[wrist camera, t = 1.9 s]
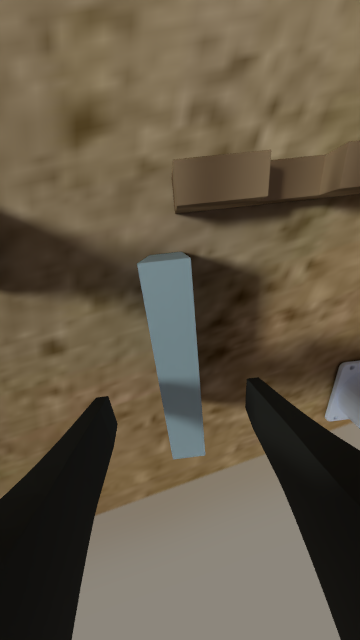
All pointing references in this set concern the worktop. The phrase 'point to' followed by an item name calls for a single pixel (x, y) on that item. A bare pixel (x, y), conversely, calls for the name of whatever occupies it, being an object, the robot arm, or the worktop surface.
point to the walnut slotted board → (263, 178)
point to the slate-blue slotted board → (175, 347)
